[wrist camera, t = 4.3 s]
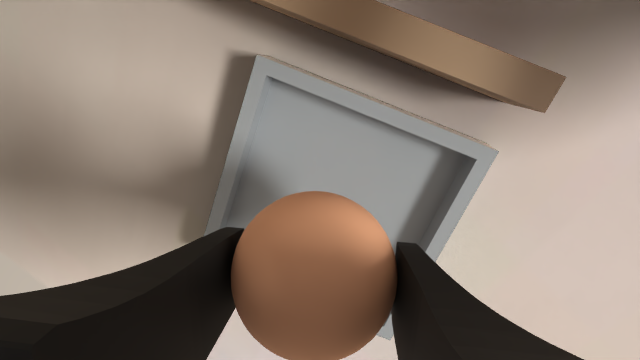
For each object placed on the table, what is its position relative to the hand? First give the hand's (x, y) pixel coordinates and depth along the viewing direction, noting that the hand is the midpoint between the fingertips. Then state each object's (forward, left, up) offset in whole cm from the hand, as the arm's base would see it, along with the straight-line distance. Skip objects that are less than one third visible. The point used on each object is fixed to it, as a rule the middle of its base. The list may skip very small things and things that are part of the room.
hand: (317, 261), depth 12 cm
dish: (0, 0, -6) cm, 6 cm away
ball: (0, 0, -2) cm, 2 cm away
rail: (+2, -8, -6) cm, 10 cm away
